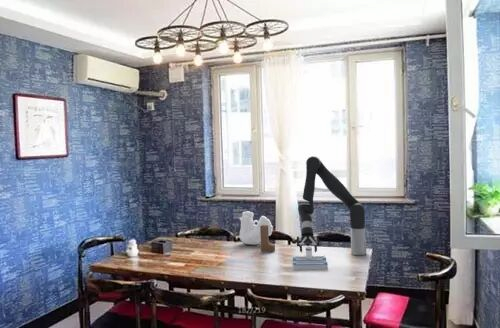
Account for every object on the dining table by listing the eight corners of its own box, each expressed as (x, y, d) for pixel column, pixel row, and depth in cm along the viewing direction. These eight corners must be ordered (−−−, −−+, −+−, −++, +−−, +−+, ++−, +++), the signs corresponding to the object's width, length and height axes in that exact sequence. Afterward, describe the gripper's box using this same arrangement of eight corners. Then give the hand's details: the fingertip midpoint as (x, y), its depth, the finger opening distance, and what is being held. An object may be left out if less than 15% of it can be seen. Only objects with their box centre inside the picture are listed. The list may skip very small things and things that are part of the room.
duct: (324, 259, 262) (324, 253, 262) (327, 269, 242) (327, 262, 241) (292, 259, 264) (292, 253, 264) (293, 269, 243) (292, 262, 243)
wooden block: (275, 250, 288) (274, 225, 287) (273, 252, 284) (272, 226, 283) (263, 249, 292) (262, 224, 291) (260, 251, 288) (259, 225, 287)
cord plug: (312, 261, 259) (311, 247, 259) (312, 262, 255) (311, 248, 255) (306, 261, 259) (305, 247, 259) (306, 263, 256) (305, 248, 255)
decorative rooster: (236, 245, 306) (235, 212, 305) (245, 241, 321) (243, 209, 320) (268, 248, 297) (266, 213, 295) (275, 242, 311) (274, 210, 310)
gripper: (296, 226, 266) (296, 248, 255) (318, 226, 265) (320, 248, 254) (296, 232, 272) (297, 254, 261) (318, 232, 270) (319, 254, 259)
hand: (308, 251), depth 257 cm, fingers open, 8 cm apart
